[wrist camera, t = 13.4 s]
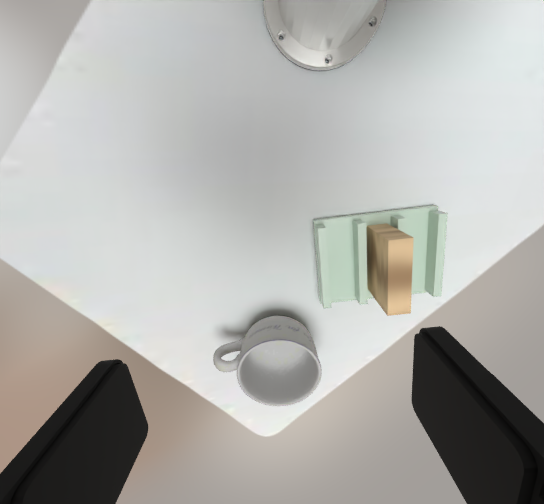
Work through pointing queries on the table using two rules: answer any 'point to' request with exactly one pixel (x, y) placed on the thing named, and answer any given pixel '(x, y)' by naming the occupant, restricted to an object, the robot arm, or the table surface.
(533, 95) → the table surface
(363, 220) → the dish rack
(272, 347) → the teacup
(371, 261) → the oak board
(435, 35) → the table surface
